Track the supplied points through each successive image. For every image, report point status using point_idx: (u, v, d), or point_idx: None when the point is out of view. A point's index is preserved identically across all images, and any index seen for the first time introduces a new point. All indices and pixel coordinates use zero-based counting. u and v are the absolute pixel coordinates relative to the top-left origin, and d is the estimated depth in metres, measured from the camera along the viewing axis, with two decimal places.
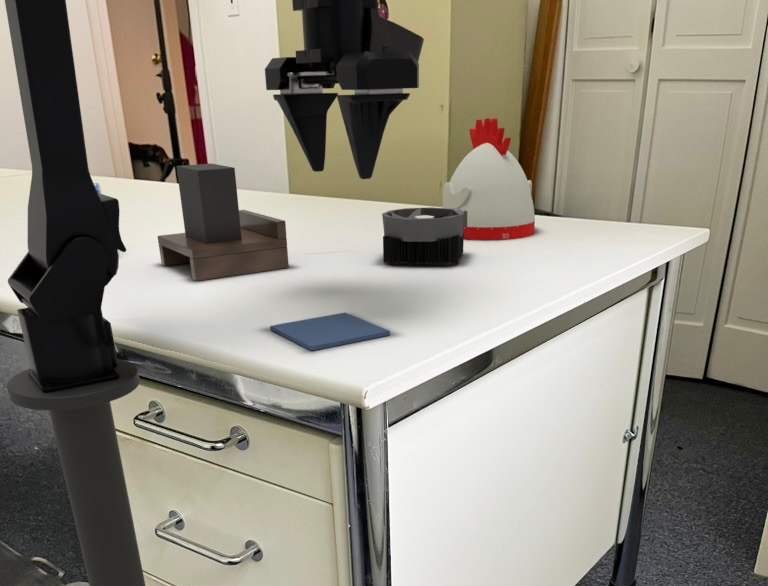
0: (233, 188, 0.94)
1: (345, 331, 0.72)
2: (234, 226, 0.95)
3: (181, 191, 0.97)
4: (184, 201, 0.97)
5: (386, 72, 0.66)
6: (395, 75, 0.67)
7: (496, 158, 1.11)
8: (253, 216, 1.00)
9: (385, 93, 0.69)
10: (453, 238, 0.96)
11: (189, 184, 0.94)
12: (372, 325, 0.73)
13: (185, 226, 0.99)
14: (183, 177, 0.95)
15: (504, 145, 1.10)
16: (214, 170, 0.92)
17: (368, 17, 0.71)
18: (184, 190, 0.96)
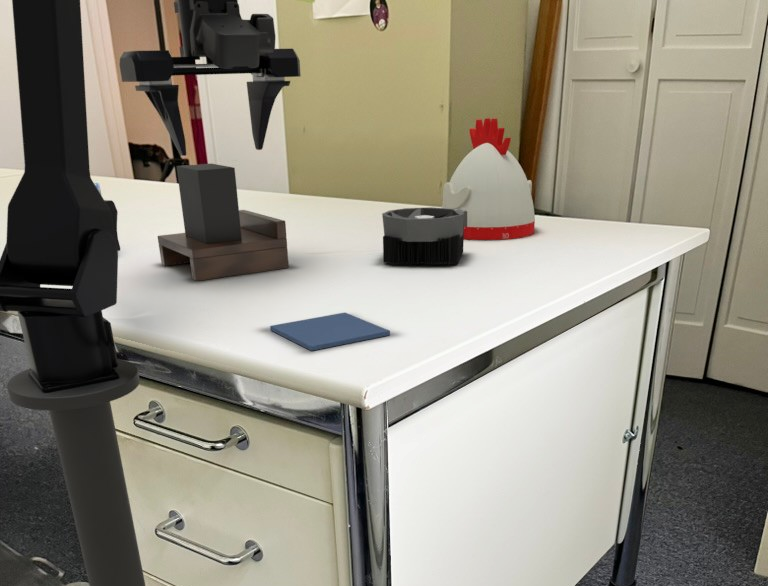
0: (233, 188, 0.94)
1: (345, 331, 0.72)
2: (234, 226, 0.95)
3: (181, 191, 0.97)
4: (184, 201, 0.97)
5: (125, 68, 0.83)
6: (128, 70, 0.83)
7: (496, 158, 1.11)
8: (253, 216, 1.00)
9: (143, 85, 0.84)
10: (453, 238, 0.96)
11: (189, 184, 0.94)
12: (372, 325, 0.73)
13: (185, 226, 0.99)
14: (183, 177, 0.95)
15: (504, 145, 1.10)
16: (214, 170, 0.92)
17: None
18: (184, 190, 0.96)
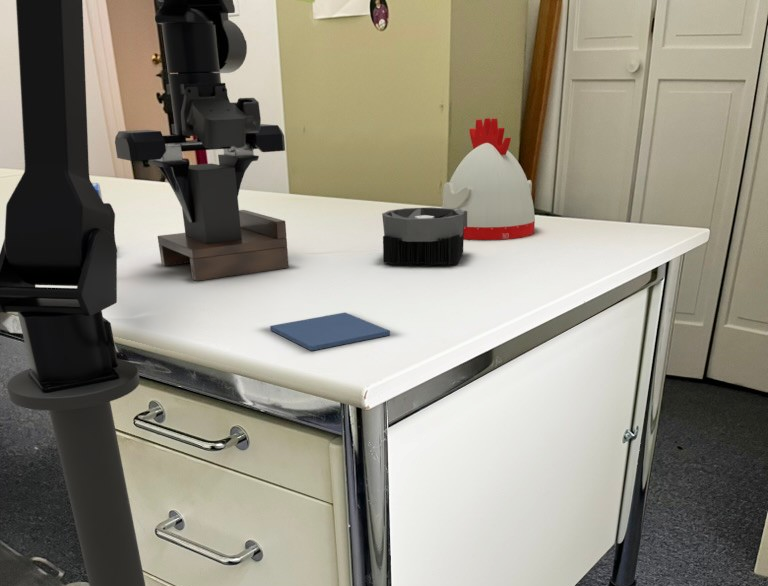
0: (233, 188, 0.94)
1: (345, 331, 0.72)
2: (234, 226, 0.95)
3: None
4: None
5: (120, 147, 0.89)
6: (123, 149, 0.89)
7: (496, 158, 1.11)
8: (253, 216, 1.00)
9: (156, 160, 0.91)
10: (453, 238, 0.96)
11: None
12: (372, 325, 0.73)
13: (185, 226, 0.99)
14: None
15: (504, 145, 1.10)
16: (214, 170, 0.92)
17: None
18: None
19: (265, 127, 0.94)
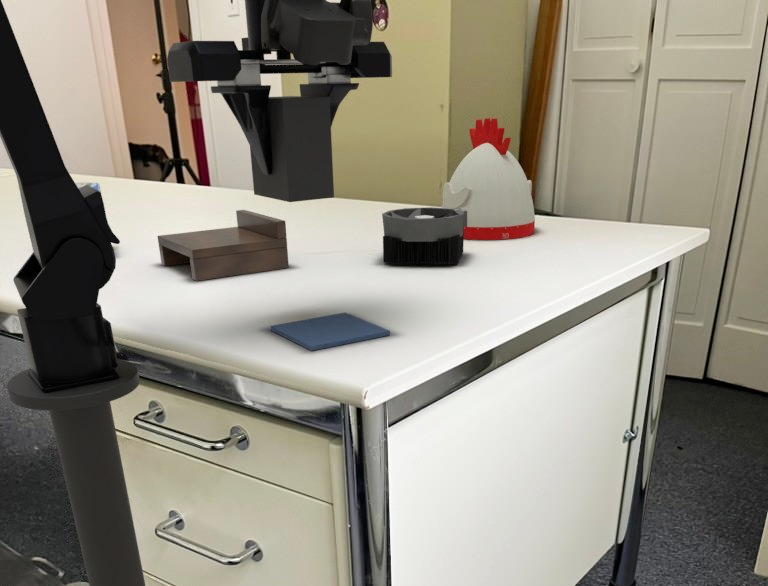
0: (327, 126, 0.69)
1: (345, 331, 0.72)
2: (325, 179, 0.71)
3: None
4: None
5: (176, 64, 0.64)
6: (181, 67, 0.64)
7: (496, 158, 1.11)
8: (253, 216, 1.00)
9: (224, 85, 0.66)
10: (453, 238, 0.96)
11: None
12: (372, 325, 0.73)
13: (255, 181, 0.74)
14: None
15: (504, 145, 1.10)
16: (303, 99, 0.67)
17: None
18: None
19: (368, 43, 0.69)
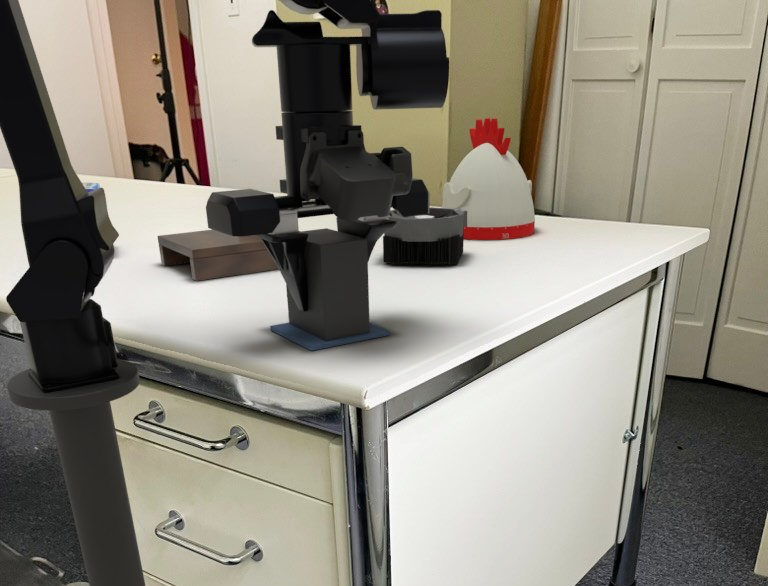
0: (364, 266, 0.68)
1: None
2: (361, 316, 0.70)
3: None
4: None
5: (215, 215, 0.64)
6: (220, 219, 0.63)
7: (496, 158, 1.11)
8: None
9: None
10: (453, 238, 0.96)
11: None
12: (372, 325, 0.73)
13: (290, 312, 0.74)
14: None
15: (504, 145, 1.10)
16: (341, 244, 0.66)
17: None
18: None
19: None
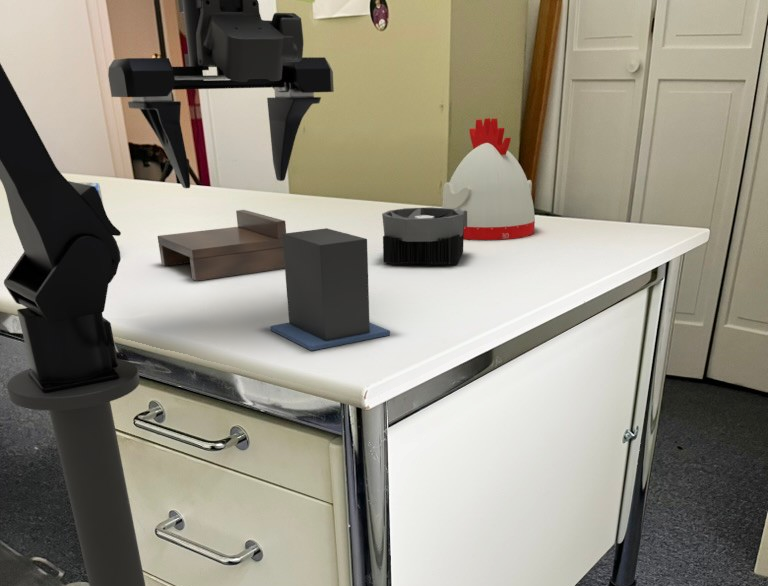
0: (364, 266, 0.68)
1: None
2: (361, 316, 0.70)
3: (288, 267, 0.71)
4: (292, 280, 0.72)
5: (115, 80, 0.66)
6: (118, 83, 0.66)
7: (496, 158, 1.11)
8: (253, 216, 1.00)
9: (137, 101, 0.67)
10: (453, 238, 0.96)
11: (303, 260, 0.69)
12: (372, 325, 0.73)
13: (290, 312, 0.74)
14: (293, 250, 0.70)
15: (504, 145, 1.10)
16: (341, 244, 0.66)
17: None
18: (293, 266, 0.70)
19: (308, 59, 0.71)
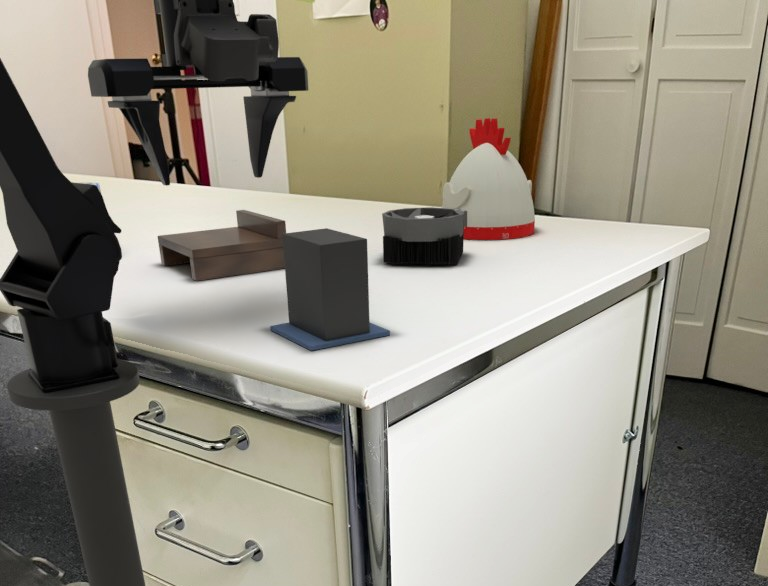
0: (364, 266, 0.68)
1: None
2: (361, 316, 0.70)
3: (288, 267, 0.71)
4: (292, 280, 0.72)
5: (94, 80, 0.68)
6: (98, 83, 0.67)
7: (496, 158, 1.11)
8: (253, 216, 1.00)
9: (117, 100, 0.69)
10: (453, 238, 0.96)
11: (303, 260, 0.69)
12: (372, 325, 0.73)
13: (290, 312, 0.74)
14: (293, 250, 0.70)
15: (504, 145, 1.10)
16: (341, 244, 0.66)
17: None
18: (293, 266, 0.70)
19: (283, 59, 0.73)
